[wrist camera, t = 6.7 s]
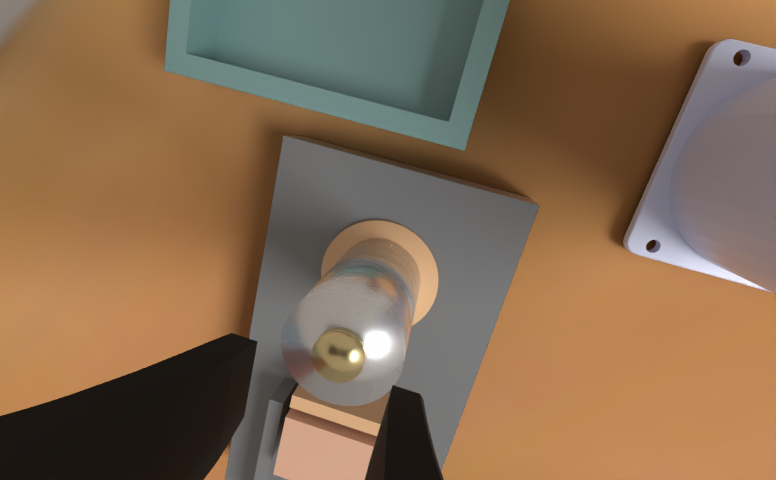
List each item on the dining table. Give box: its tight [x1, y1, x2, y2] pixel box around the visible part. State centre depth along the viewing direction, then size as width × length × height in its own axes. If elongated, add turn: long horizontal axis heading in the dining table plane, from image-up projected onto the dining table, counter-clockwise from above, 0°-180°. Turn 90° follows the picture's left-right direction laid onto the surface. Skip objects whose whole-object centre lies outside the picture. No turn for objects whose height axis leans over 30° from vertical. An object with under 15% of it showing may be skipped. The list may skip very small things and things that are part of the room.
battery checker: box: [225, 136, 539, 480], centre depth 17 cm, size 10×18×4 cm, turn 166°
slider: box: [273, 408, 377, 480], centre depth 17 cm, size 4×3×2 cm
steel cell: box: [281, 238, 421, 406], centre depth 13 cm, size 3×3×6 cm
